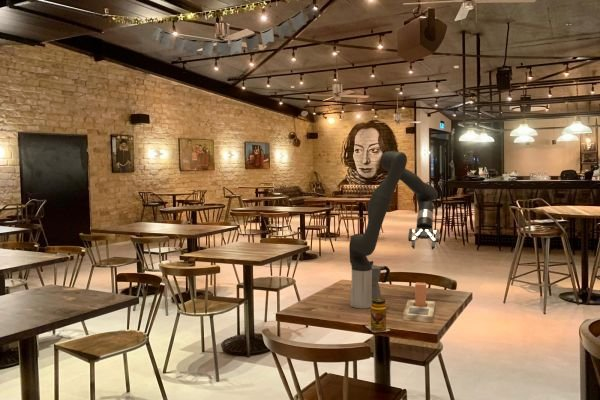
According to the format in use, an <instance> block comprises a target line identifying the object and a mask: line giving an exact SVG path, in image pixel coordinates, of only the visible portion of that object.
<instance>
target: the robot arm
mask: <svg viewBox="0 0 600 400" xmlns="http://www.w3.org/2000/svg"><path fill="white" fill-rule="evenodd" d="M380 164H381V165H380V166H381V167H382V168H383V169H384V170H385V171H387V172H388V173H387V176H386V177H385V178H384V180H383V181H382V182H381V183H380V184H379V185H378V186H377V187H376V188H375V189H374V190H373V192H372V194H371V196H370V198H369V200H368V204H367V225H366V228H365V231H364V234H362V233H355V234H353V235H352V236H351V237H350V239H349V244H348V245H349V249H348V250H349V262H350V265H351V266H350V267H351V285H350V301H349V302H350V307H351V308H356V309H371V306H372V264H371V262H370V261H371V260H369V259H368V256H371V255H372V254H373V253H374V252H375V249H376V246H377V243H378V240H379V235H380V232H381V229H382V225H383V223H384V220H385V217H386V215H387V211H388V209H389V207H390V204H391V202H392V198H393V196H394V193H395V190H396V189H397V186H398V184H399V181H401V182H403V183H404V184H405V186H407V187H408V189H410V190H411V192H413V193H415V197H416V198H415V199H416V201H417V206H418V210H417V211H418V212H417V217H416V218H417V219H416V228H415V229H413V228H409V230H408V236H407V238H408V242H411V248H412V249H413V250H414V249H415V248H416V241H418V240H420V239H421V240H429V241H430V242H431V250H434V249H436V243H440V229H436V230H434V229H433V225H434V215H433V214H434V205H433V203H432V202H433V201H435V200H436V199H437V198H438V197H439V193H438V190H437V189H436V188H435V187H434V186H432V185H431V184H428V183H426V182H425V181H423V180H422V179H421V178H420V176H419V175H417V174H416V173H414V172H412V171H410V170H409V169H407V168H406V166H407V164H408V157H407V155H406V153H404V152H403V151H402V152H401V151H392V150H389V151H385V152H383V154H382V155H381V157H380ZM433 234H434V235H433ZM413 235H414V236H413ZM412 236H413V237H412ZM434 236H436V238H435V237H434Z"/></svg>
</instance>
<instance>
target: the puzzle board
mask: <svg viewBox="0 0 600 400" xmlns="http://www.w3.org/2000/svg"><path fill="white" fill-rule="evenodd" d="M435 309H436V302H435V301H433V300H432V301H431V300H426V307H421V306H415V299H408V300H407V302H406V305H405V307H404V310H403V314H402V320H403V321H410V322H421V323H434V322H433V321H434V314H435Z"/></svg>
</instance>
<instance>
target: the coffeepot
mask: <svg viewBox="0 0 600 400" xmlns="http://www.w3.org/2000/svg"><path fill="white" fill-rule="evenodd" d="M369 261H370V262H371V264H372V300H373V299H377V298H379V299H381V298H382V294H381V293H382V292H381V288H380V284H379V281H380V278H381V273H382V271H385V276H384V277H383V280H381V281H380V282H381V283H382V284H384V283H387V280H388V278H389V275H390V272H391V269H390V268H389V267H388V266H386V265H382V266H381V265H376V264H374V261H373V260H369Z"/></svg>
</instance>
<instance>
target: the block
mask: <svg viewBox="0 0 600 400" xmlns="http://www.w3.org/2000/svg"><path fill="white" fill-rule="evenodd" d="M414 287H415V289H414V296H415V297H414V300H415V306H421V307H426V301H427V282H417V281H416V282H415V284H414Z"/></svg>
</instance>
